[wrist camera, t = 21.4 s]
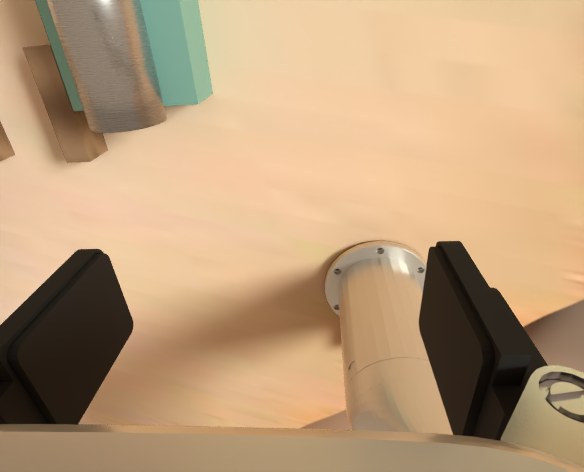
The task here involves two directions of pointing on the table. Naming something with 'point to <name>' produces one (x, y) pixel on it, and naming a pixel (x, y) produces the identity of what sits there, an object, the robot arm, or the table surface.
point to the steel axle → (110, 62)
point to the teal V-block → (157, 51)
